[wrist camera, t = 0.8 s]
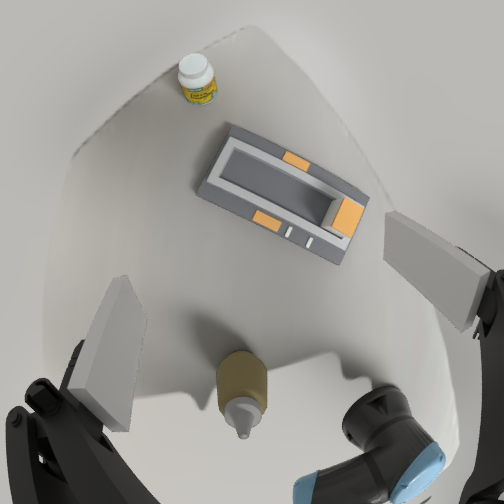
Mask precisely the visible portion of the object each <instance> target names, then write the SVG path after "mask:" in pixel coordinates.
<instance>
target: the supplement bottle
mask: <svg viewBox="0 0 504 504" xmlns="http://www.w3.org/2000/svg"><path fill="white" fill-rule="evenodd" d="M178 80H179V82H180V85H181V87H182V89H183V92H184V94H185V96H186V99H187V100H188V101H189V102H190V103H191V104H193V105H198V106H202V105H206V104H208V103H210V102H211V101H212V100H213V99H214V98H215V97H216V95H217V85H216V79H215V73H214V69H213V66H212V65H211V64H210V63H209V62H207V59H206V57H205V56H203V55H201V54H197V53H194V54H189V55H187V56H185V57H184V58H183V59H182V60H181V61H180V63H179V72H178Z"/></svg>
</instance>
